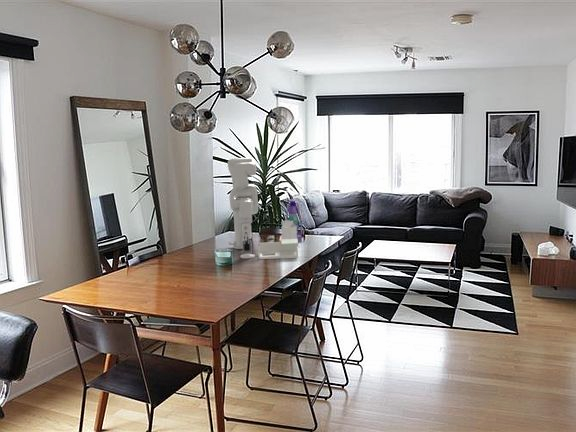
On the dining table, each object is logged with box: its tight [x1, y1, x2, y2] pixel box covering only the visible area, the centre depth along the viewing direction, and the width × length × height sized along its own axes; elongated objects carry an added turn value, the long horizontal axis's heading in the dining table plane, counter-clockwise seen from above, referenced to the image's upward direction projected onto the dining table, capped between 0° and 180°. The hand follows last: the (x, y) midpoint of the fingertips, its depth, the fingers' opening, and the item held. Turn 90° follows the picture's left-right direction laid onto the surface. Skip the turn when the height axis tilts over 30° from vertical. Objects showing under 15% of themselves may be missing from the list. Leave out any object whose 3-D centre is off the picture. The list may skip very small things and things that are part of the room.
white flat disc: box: [240, 253, 256, 260], centre depth 352 cm, size 9×9×1 cm
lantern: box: [285, 198, 303, 243], centre depth 397 cm, size 13×12×30 cm
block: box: [242, 239, 253, 254], centre depth 351 cm, size 5×5×7 cm
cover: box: [279, 235, 299, 246], centre depth 350 cm, size 11×15×3 cm
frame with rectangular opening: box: [257, 241, 299, 260], centre depth 351 cm, size 24×15×7 cm, turn 90°
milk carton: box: [280, 219, 298, 239], centre depth 370 cm, size 7×7×19 cm
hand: (247, 249), depth 351 cm, fingers closed on block, 5 cm apart
